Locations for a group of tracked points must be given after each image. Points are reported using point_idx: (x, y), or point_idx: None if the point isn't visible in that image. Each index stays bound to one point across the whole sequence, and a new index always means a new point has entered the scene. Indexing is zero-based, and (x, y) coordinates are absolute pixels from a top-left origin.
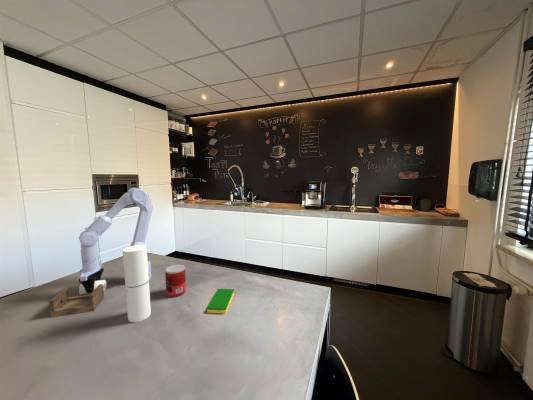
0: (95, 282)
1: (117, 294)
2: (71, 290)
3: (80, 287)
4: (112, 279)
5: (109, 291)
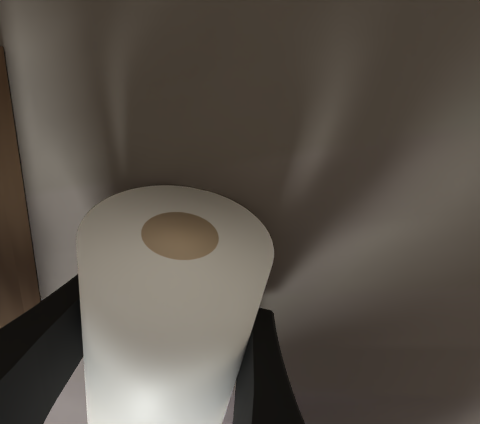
0: (113, 421)
1: (81, 402)
2: (448, 6)
3: (81, 264)
4: (447, 398)
5: None
